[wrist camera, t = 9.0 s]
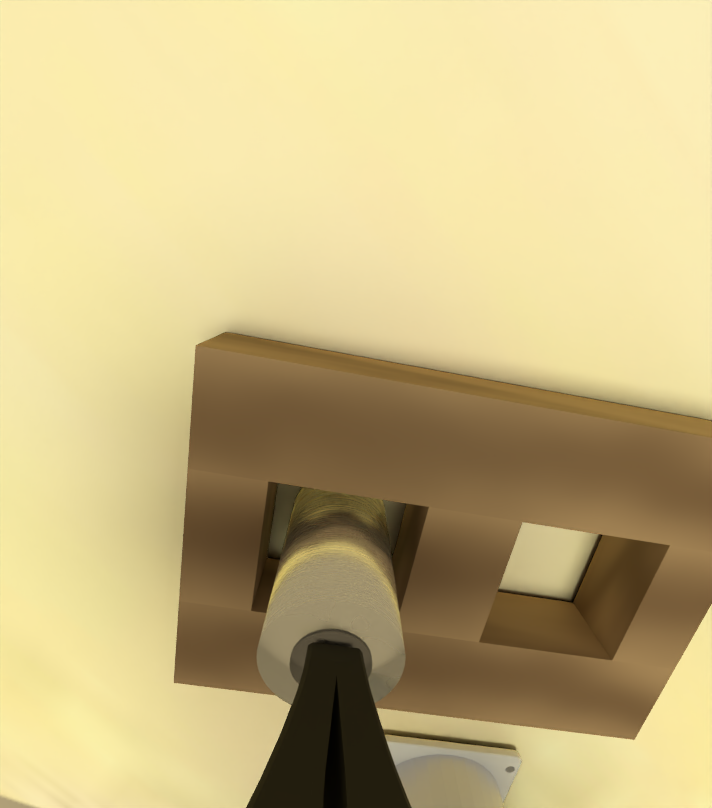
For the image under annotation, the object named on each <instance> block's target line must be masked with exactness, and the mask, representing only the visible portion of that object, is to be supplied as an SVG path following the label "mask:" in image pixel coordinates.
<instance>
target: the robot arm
mask: <svg viewBox="0 0 712 808" xmlns="http://www.w3.org/2000/svg"><path fill="white" fill-rule="evenodd" d="M521 762H522V761H521V758H520V755H519V753H518V752H517V751H516V750H512V749H503V748H495V747H487V746H478V745H470V744H461V743H453V742H445V741H436V740H428V739H420V738H411V737H403V736H395V735H384V732H383V729H382V726H381V723H380V719H379V716H378V713H377V710H376V706H375V703H374V699H373V696H372V692H371V688H370V685H369V681H368V677H367V673H366V668H365V663H364V658H363V653H362V651H361V650H360V649H359V648H353V647H345V646H338V645H330V644H322V643H315V642H313V643H311V644H309V645H308V648H307V653H306V658H305V663H304V668H303V673H302V676H301V679H300V683H299V686H298V689H297V692H296V695H295V698H294V700H293V703H292V706H291V708H290V711H289V713H288V716H287V719H286V721H285V724H284V726H283V729H282V731H281V734H280V736H279V738H278V741H277V743H276V745H275V747H274V750H273V752H272V754H271V756H270V759H269V761H268V763H267V765H266V768H265V770H264V772H263V774H262V776H261V778H260V781H259V783H258V785H257V787H256V789H255V791H254V793H253V795H252V797H251V799H250V801H249V803H248V805H247V807H246V808H504V805H503V802H504V800H505V798H506V796H507V793H508V791H509V789H510V787H511V785H512V783H513V780H514V778H515V776H516V774H517V772H518V769H519V767H520V765H521Z"/></svg>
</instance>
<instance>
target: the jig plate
mask: <svg viewBox="0 0 712 808" xmlns="http://www.w3.org/2000/svg"><path fill="white" fill-rule="evenodd" d="M278 483H281V484H287V485H294V486H300V487H306V488H313V489H319V490H325V491H331V492H338V493H344V494H350V495H357V496H363V497H369V498H375V499H382V500H388V501H394V502H401V503H407V504H406V508H405V512H404V516H403V520H402V524H401V527H400V531H399V535H398V539H397V543H396V547H395V551H394V555H393V559H392V564H393V571H394V578H395V585H396V592H397V599H398V606H399V613H400V620H401V627H402V634H403V641H404V648H405V666H404V671H403V673H402V676H401V678H400V680H399V681H398V683H397V685H396V686H395V687H394V688H393V689H392V691H390V692H389V693H388V694H387V695H386V696H385V697H384V698H382V699H381V700H379V701H378V702H376V703H375V706H376V708H383V709H391V710H399V711H407V712H415V713H423V714H431V715H439V716H447V717H456V718H464V719H472V720H480V721H488V722H496V723H504V724H512V725H520V726H528V727H536V728H544V729H552V730H560V731H569V732H577V733H585V734H593V735H601V736H609V737H617V738H625V739H633V740H634V739H635V738H636V736H637V734H638V732H639V731H640V729H641V727H642V725H643V723H644V722H645V720H646V718H647V716H648V715H649V713H650V711H651V709H652V708H653V706H654V704H655V702H656V701H657V699H658V697H659V695H660V694H661V692H662V690H663V688H664V687H665V685H666V683H667V681H668V680H669V678H670V676H671V674H672V672H673V671H674V669H675V667H676V665H677V664H678V662H679V660H680V658H681V657H682V655H683V653H684V651H685V650H686V648H687V646H688V644H689V643H690V641H691V639H692V637H693V636H694V634H695V632H696V630H697V629H698V627H699V625H700V623H701V621H702V620H703V618H704V616H705V614H706V613H707V611H708V609H709V607H710V606H711V604H712V421H710V420H705V419H699V418H694V417H688V416H683V415H677V414H672V413H666V412H661V411H655V410H650V409H644V408H639V407H633V406H628V405H622V404H617V403H611V402H606V401H600V400H595V399H589V398H584V397H578V396H573V395H568V394H562V393H557V392H551V391H546V390H540V389H535V388H529V387H524V386H518V385H513V384H507V383H502V382H496V381H491V380H485V379H480V378H474V377H469V376H463V375H458V374H452V373H447V372H441V371H436V370H430V369H425V368H419V367H414V366H408V365H403V364H398V363H392V362H387V361H381V360H376V359H370V358H365V357H359V356H354V355H348V354H343V353H337V352H332V351H326V350H321V349H315V348H310V347H304V346H299V345H293V344H288V343H282V342H277V341H271V340H266V339H260V338H255V337H249V336H244V335H238V334H233V333H227V332H225V333H223V334H220V335H218V336H216V337H214V338H211V339H209V340H207V341H205V342H202V343H200V344H198V345H196V350H195V365H194V381H193V396H192V411H191V427H190V442H189V457H188V473H187V488H186V504H185V519H184V534H183V550H182V565H181V580H180V596H179V611H178V626H177V642H176V657H175V673H174V683H181V684H189V685H197V686H205V687H213V688H221V689H229V690H237V691H246V692H254V693H262V694H270V695H275V694H274V693H273V692H272V691H271V690H270V689H269V688H268V686H267V685H266V684H265V682H264V681H263V679H262V677H261V675H260V673H259V669H258V666H257V648H258V644H259V640H260V637H261V633H262V629H263V625H264V621H265V617H266V613H267V609H268V605H269V601H270V597H271V593H272V589H273V585H274V581H275V577H276V573H277V569H278V565H279V561H280V560H277V559H271V558H267V554H268V547H269V540H270V533H271V526H272V519H273V512H274V505H275V498H276V491H277V484H278ZM522 522H526V523H533V524H539V525H545V526H552V527H558V528H564V529H570V530H577V531H583V532H589V533H596V534H602V535H603V536H602V538H601V540H600V542H599V545H598V547H597V549H596V552H595V554H594V556H593V558H592V561H591V563H590V565H589V568H588V570H587V572H586V574H585V577H584V579H583V581H582V584H581V586H580V588H579V590H578V593H577V595H576V597H575V600H574V602H573V603H571V602H564V601H558V600H551V599H544V598H537V597H530V596H523V595H517V594H510V593H503V592H497V591H498V588H499V585H500V583H501V580H502V577H503V574H504V572H505V569H506V566H507V563H508V561H509V558H510V555H511V552H512V549H513V547H514V544H515V541H516V538H517V536H518V533H519V530H520V527H521V525H522Z"/></svg>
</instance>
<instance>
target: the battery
mask: <svg viewBox="0 0 712 808" xmlns="http://www.w3.org/2000/svg"><path fill="white" fill-rule="evenodd" d="M313 642H315V643H322V644H330V645H338V646H345V647H353V648H359V649H360V650H361V651H362V653H363V658H364V663H365V668H366V673H367V677H368V681H369V685H370V688H371V692H372V696H373V699H374V703H376V702H378V701H379V700H381V699H382V698H384V697H385V696H386V695H387V694H388V693H389V692H390V691H392V689H393V688H394V687H395V686H396V685H397V683H398V681H399V680H400V678H401V676H402V673H403V671H404V666H405V648H404V641H403V634H402V627H401V620H400V613H399V606H398V599H397V592H396V585H395V578H394V571H393V564H392V557H391V550H390V543H389V536H388V529H387V522H386V515H385V508H384V503H383V500H382V499H375V498H369V497H363V496H357V495H350V494H344V493H338V492H331V491H325V490H319V489H313V488H306V487H303V488H302V489H301V490H300V492H299V493H298V495H297V497H296V499H295V502H294V506H293V510H292V514H291V518H290V522H289V526H288V530H287V534H286V538H285V542H284V546H283V550H282V554H281V557H280V561H279V565H278V569H277V573H276V577H275V581H274V585H273V589H272V593H271V597H270V601H269V605H268V609H267V613H266V617H265V621H264V625H263V629H262V633H261V637H260V640H259V644H258V648H257V666H258V669H259V673H260V675H261V677H262V679H263V681H264V682H265V684H266V685H267V686H268V688H269V689H270V690H271V691H272V692H273V693H274V694H275V695H277V696H278V697H279V698H281V699H282V700H283V701H285V702H287V703H289V704H291V705H292V703H293V700H294V698H295V695H296V692H297V689H298V686H299V683H300V679H301V676H302V673H303V668H304V663H305V658H306V653H307V648H308V645H309V644H311V643H313Z"/></svg>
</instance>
